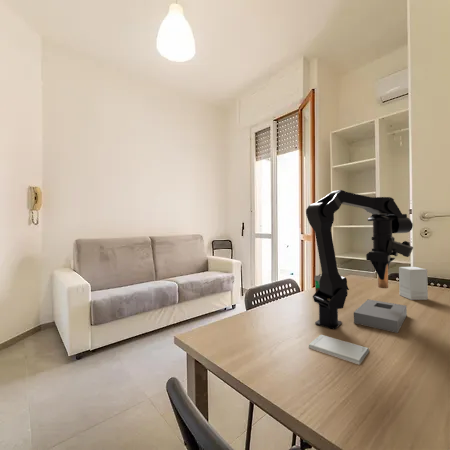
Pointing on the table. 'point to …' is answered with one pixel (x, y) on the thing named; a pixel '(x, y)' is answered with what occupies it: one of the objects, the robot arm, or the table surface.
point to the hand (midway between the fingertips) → (383, 278)
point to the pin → (383, 282)
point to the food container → (317, 281)
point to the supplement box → (413, 283)
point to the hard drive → (339, 348)
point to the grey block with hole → (381, 315)
